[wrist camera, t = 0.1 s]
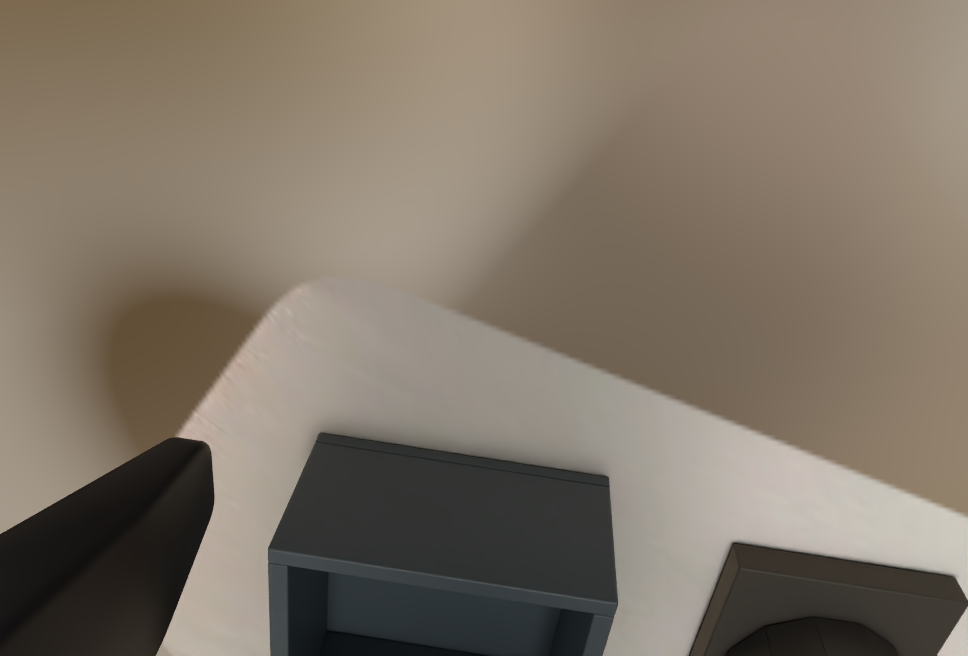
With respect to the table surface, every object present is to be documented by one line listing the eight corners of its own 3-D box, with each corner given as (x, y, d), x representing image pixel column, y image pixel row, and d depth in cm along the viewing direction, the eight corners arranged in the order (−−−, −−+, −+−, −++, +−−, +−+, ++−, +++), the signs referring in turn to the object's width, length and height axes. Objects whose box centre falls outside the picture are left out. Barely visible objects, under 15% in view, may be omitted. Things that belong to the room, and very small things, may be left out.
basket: (559, 665, 32) (558, 801, 27) (315, 627, 32) (272, 755, 28) (609, 477, 27) (618, 603, 22) (319, 432, 27) (267, 549, 22)
